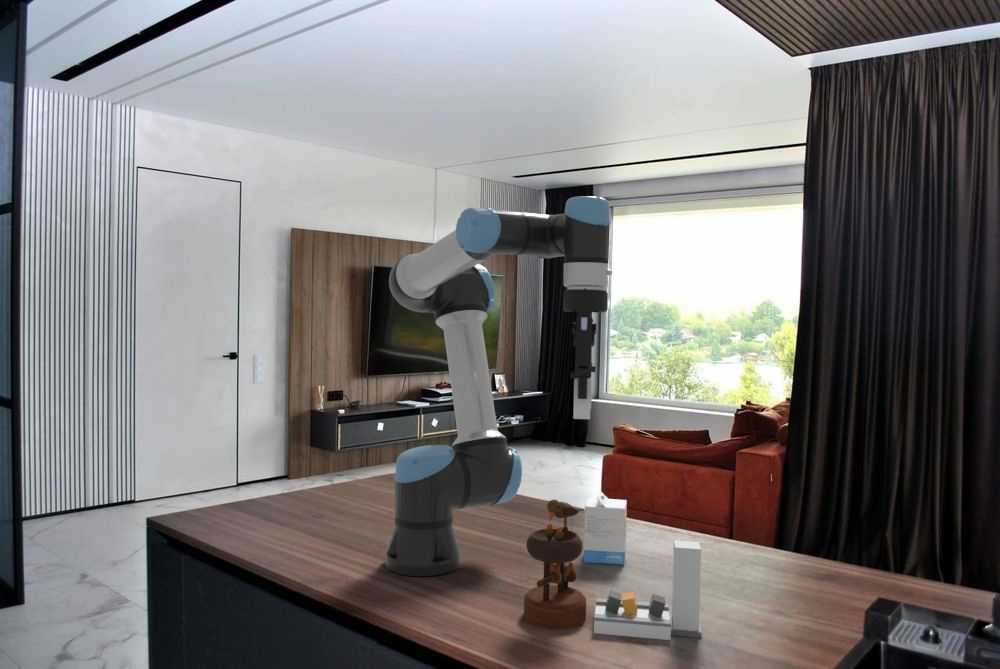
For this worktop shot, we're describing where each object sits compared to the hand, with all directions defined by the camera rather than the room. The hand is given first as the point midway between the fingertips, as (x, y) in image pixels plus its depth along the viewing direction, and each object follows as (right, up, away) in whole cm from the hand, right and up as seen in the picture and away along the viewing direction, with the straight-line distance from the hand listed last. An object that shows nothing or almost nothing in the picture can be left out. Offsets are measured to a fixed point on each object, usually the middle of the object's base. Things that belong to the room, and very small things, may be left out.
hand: (582, 413), depth 131 cm
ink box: (+8, -34, +30) cm, 46 cm away
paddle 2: (+8, -32, -5) cm, 34 cm away
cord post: (+16, -35, -6) cm, 39 cm away
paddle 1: (+4, -32, -5) cm, 33 cm away
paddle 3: (+11, -32, -6) cm, 35 cm away
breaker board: (+8, -34, -5) cm, 35 cm away
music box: (-5, -34, -2) cm, 35 cm away
